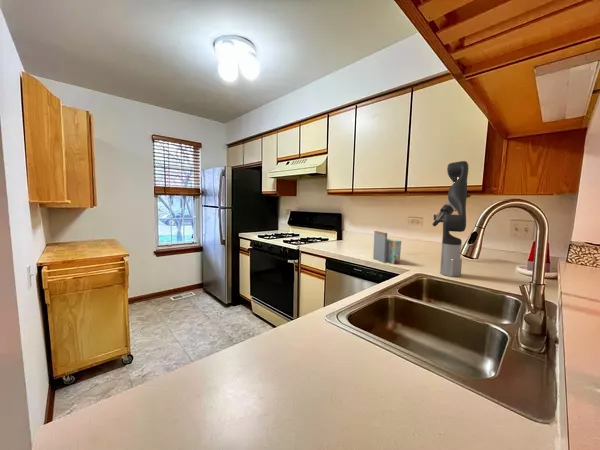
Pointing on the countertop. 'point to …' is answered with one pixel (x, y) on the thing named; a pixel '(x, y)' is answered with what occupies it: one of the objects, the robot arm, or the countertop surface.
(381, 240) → the board
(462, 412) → the countertop surface
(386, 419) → the countertop surface
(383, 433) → the countertop surface
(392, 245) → the snack box
